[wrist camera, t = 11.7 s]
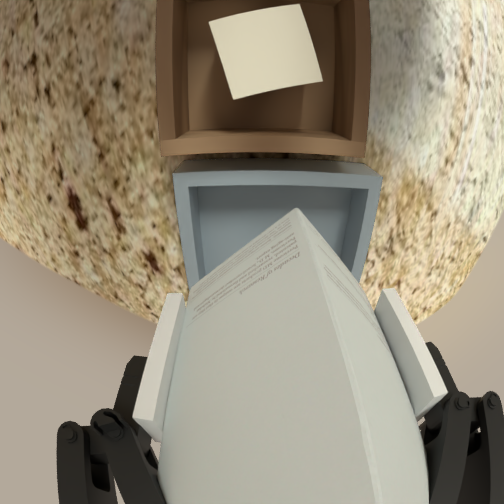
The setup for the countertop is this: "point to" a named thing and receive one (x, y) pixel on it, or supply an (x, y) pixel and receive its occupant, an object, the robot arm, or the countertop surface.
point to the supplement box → (287, 386)
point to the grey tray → (272, 206)
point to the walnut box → (268, 103)
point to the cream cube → (266, 50)
